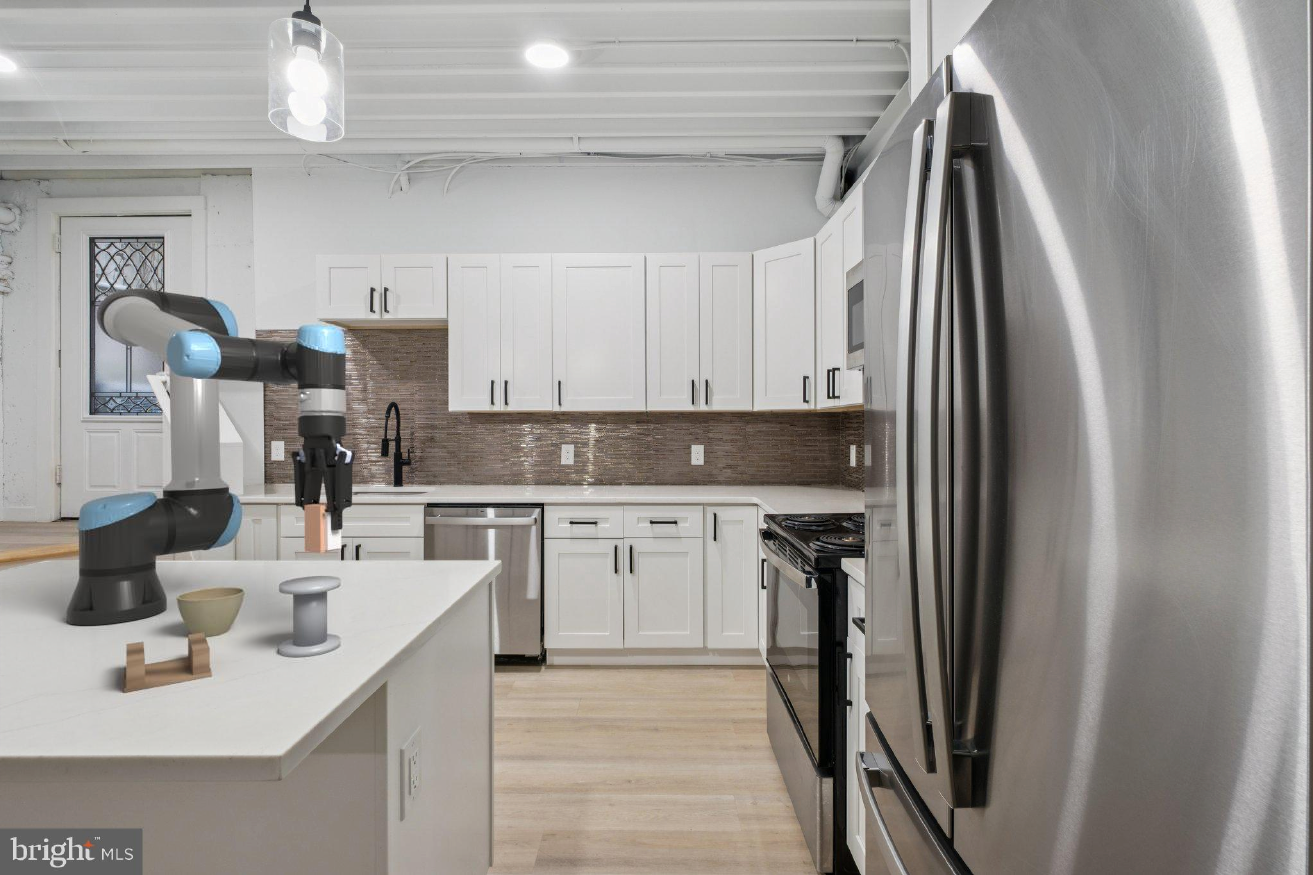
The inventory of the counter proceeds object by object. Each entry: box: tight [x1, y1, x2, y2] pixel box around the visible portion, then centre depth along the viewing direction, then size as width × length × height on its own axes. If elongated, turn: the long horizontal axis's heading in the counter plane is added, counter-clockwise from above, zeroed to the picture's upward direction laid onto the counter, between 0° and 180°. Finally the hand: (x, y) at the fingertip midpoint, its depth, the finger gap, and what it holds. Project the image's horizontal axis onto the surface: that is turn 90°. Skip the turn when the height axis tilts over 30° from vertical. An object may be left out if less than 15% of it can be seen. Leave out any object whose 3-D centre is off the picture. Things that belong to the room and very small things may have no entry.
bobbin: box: [278, 575, 341, 658], centre depth 109 cm, size 9×9×11 cm
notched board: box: [123, 632, 213, 694], centre depth 97 cm, size 10×10×4 cm
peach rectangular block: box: [304, 502, 342, 554], centre depth 115 cm, size 4×4×8 cm
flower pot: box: [176, 586, 245, 638], centre depth 117 cm, size 10×10×7 cm
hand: (323, 547), depth 115 cm, fingers closed on peach rectangular block, 4 cm apart
